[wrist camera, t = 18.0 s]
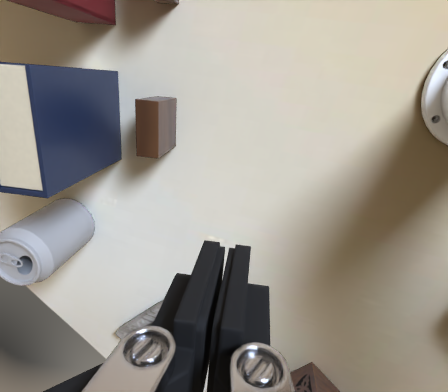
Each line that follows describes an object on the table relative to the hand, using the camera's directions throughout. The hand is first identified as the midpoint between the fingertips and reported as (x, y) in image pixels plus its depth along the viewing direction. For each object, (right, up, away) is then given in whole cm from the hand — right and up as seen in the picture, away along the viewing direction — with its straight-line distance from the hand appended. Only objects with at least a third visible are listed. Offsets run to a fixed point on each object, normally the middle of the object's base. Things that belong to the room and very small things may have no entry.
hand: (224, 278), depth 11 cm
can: (-22, -1, +35) cm, 41 cm away
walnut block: (-7, +12, +28) cm, 31 cm away
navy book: (-14, +11, +21) cm, 28 cm away
